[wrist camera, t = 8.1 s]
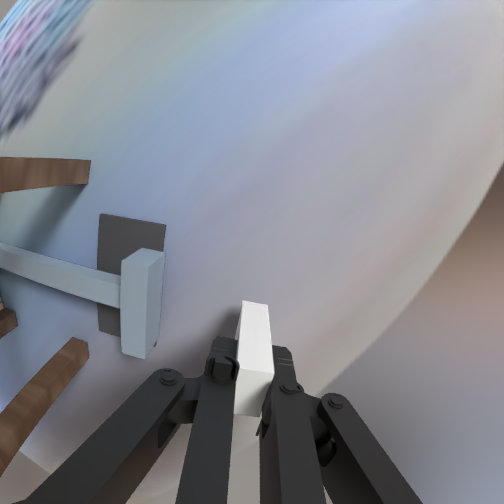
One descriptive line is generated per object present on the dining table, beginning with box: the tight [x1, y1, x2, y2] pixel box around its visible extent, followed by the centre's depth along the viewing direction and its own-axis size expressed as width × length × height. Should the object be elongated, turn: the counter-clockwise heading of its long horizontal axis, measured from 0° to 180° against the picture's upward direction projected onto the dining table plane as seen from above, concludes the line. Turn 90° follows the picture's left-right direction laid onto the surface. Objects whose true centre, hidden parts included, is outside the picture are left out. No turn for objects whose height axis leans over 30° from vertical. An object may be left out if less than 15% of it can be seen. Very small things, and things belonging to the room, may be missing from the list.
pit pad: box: [97, 214, 166, 347], centre depth 18 cm, size 9×5×1 cm, turn 169°
